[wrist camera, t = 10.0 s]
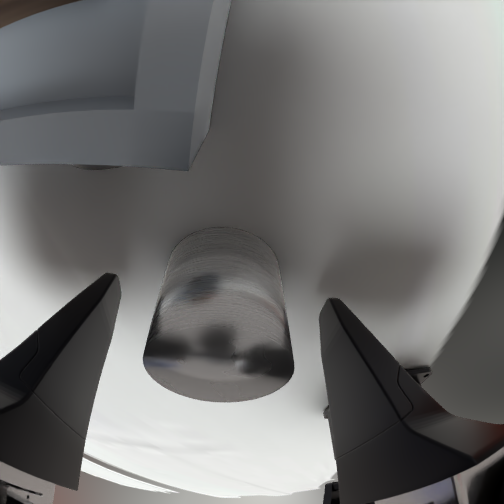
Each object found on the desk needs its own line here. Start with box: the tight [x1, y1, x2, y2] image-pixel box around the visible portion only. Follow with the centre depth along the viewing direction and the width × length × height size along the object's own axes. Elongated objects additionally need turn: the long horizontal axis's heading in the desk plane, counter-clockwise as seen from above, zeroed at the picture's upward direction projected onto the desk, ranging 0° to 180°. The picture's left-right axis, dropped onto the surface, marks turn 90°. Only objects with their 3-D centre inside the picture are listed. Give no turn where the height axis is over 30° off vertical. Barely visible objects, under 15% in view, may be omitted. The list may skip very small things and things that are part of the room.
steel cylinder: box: [143, 227, 294, 402], centre depth 9 cm, size 4×4×4 cm
